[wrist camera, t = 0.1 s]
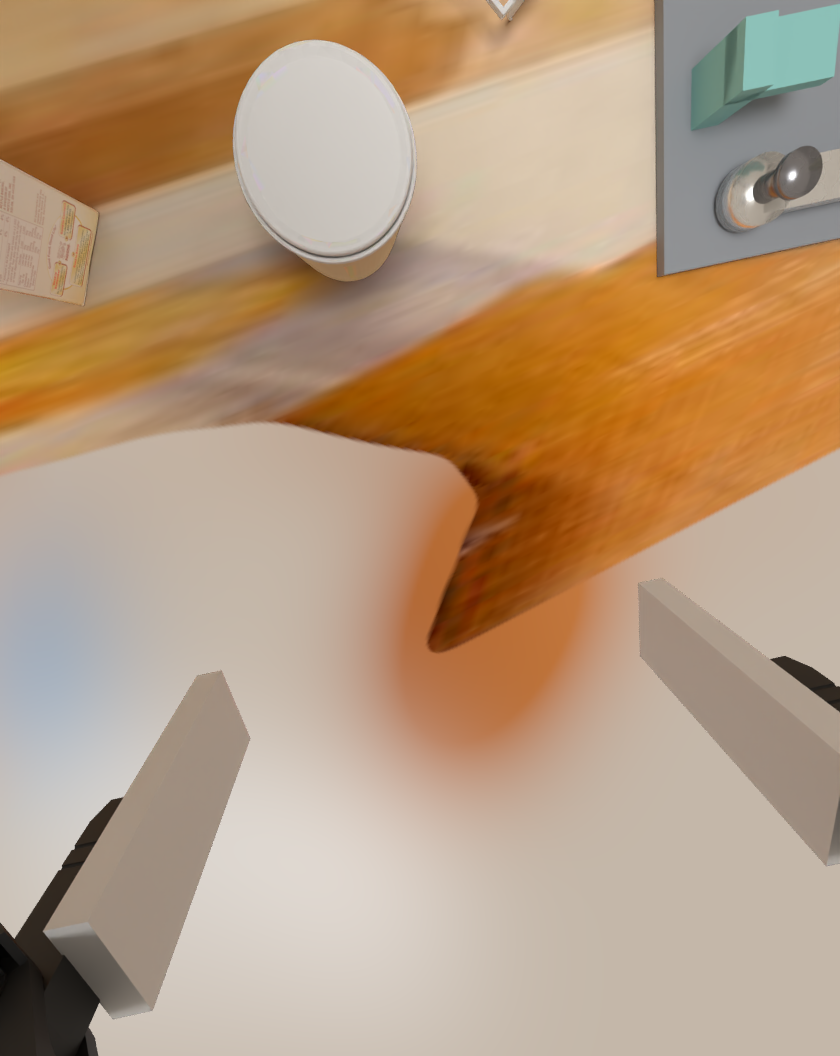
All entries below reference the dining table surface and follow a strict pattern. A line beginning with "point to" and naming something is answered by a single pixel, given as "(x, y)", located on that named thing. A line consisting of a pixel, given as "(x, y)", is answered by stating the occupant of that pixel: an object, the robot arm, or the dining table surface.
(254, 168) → the coffee cup
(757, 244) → the board
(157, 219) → the dining table surface
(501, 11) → the eyeglasses
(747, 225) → the link
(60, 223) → the coffeecake box
